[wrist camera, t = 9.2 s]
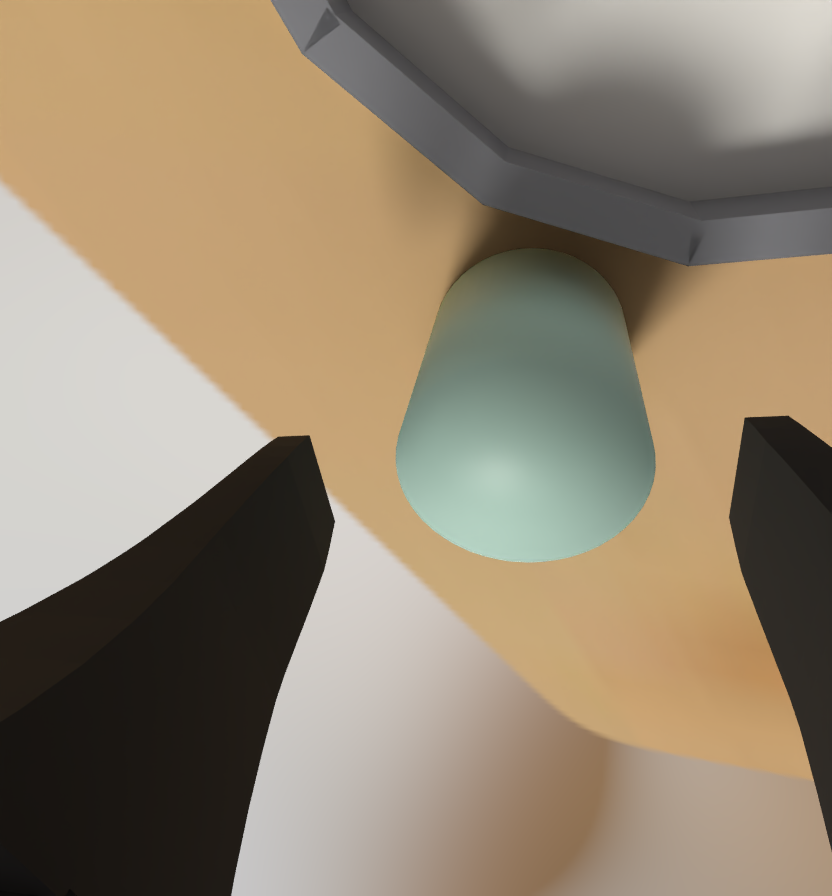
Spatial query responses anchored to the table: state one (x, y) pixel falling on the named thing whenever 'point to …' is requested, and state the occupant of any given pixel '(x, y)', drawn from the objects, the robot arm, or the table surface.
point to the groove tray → (607, 111)
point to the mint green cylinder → (527, 413)
